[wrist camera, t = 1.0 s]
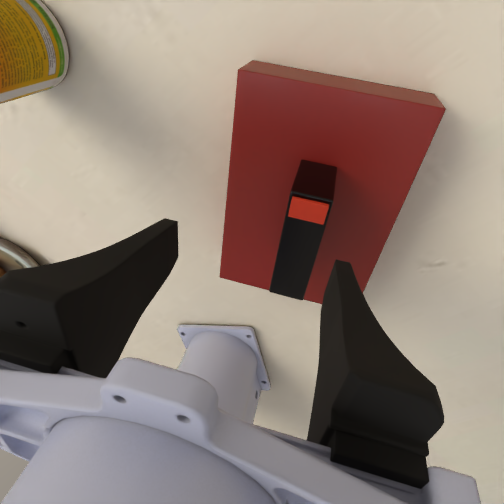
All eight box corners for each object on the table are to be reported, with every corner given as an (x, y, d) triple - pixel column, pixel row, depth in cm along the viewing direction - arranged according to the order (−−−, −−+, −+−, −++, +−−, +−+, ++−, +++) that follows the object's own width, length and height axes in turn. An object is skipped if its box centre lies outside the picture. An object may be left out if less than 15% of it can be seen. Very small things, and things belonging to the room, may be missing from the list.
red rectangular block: (354, 285, 27) (354, 312, 25) (230, 253, 28) (219, 277, 26) (435, 93, 18) (446, 108, 16) (252, 60, 19) (237, 69, 17)
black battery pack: (310, 258, 23) (302, 304, 19) (280, 251, 23) (267, 295, 20) (337, 166, 19) (333, 203, 15) (301, 158, 19) (289, 193, 16)
